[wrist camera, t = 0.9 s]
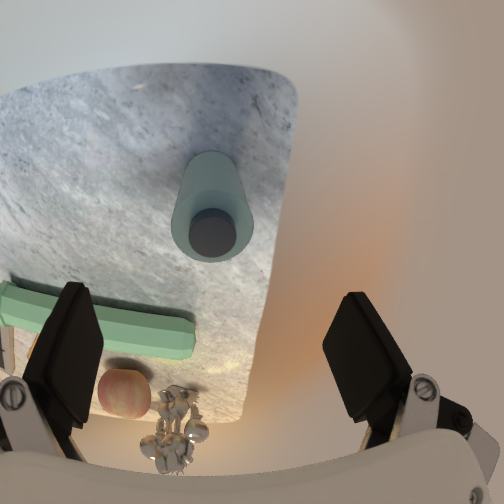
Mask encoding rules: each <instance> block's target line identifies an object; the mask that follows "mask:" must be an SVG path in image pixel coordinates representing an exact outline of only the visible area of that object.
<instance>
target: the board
mask: <svg viewBox="0 0 504 504" xmlns="http://www.w3.org/2000/svg"><path fill="white" fill-rule="evenodd" d="M38 337H39V334H38V335H37V337H36V339H35V341H34V343H33V345H32V347H31V350H30V352H29V354H28V356H27V358H28V359H29V358H30V356H31V353H32V351H33V348H34V346H35V344H36V341H37V339H38Z"/></svg>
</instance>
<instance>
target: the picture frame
mask: <svg viewBox="0 0 504 504" xmlns="http://www.w3.org/2000/svg"><path fill="white" fill-rule="evenodd" d="M0 370H2V371H3V372H5V373H7V374H8V375H10V376H13V373H14V370H15V362H14V337H13V326H8V327H4V326H1V325H0Z"/></svg>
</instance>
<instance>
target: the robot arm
mask: <svg viewBox="0 0 504 504" xmlns="http://www.w3.org/2000/svg"><path fill="white" fill-rule="evenodd" d="M322 345H323V351H324V353H325V356H326V358H327V361H328V363H329V366H330V368H331V371H332V373H333V376H334V378H335V381H336V384H337V386H338V389H339V391H340V394H341V397H342V399H343V401H344V405H345V407H346V410H347V412H348V415H349V416H350V417H351V418H353V420H354V423H358V422H362V421H365V420H367V421H368V424H369V425H368V428H367V431H366V434H365V437H364V439H363V441H362V444H361V447H360V449H359V451H358V452H357V453H354V454H351V455H348V456H344V457H340V458H337V459H333V460H329V461H325V462H321V463H317V464H312V465H307V466H302V467H297V468H292V469H286V470H279V471H272V472H265V473H255V474H246V475H231V476H175V475H174V476H173V475H159V474H150V473H140V472H133V471H126V470H120V469H114V468H109V467H103V466H98V465H93V464H89V463H87V462H86V460H85V458H84V457H83V455H82V454H81V452H80V450H79V449H78V447H77V445H76V444H75V442H74V440H73V439H72V437H71V431H72V427H75V428H79V429H82V428H83V423H86V422H87V420H88V416H89V410H90V404H91V399H92V394H93V389H94V384H95V380H96V375H97V371H98V367H99V363H100V359H101V355H102V351H103V347H104V338H103V335H102V332H101V329H100V326H99V323H98V319H97V316H96V313H95V310H94V306H93V303H92V299H91V296H90V292H89V289H88V288H87V287H85V286H84V284H83V283H80V282H70V281H69V282H67V284H66V285H65V287H64V289H63V291H62V293H61V294H60V296H59V298H58V300H57V302H56V304H55V306H54V308H53V310H52V312H51V314H50V316H49V317H48V318H47V320H46V321H45V323H44V326H43V328H42V330H41V332H40V334H39V337H38V339H37V341H36V344H35V346H34V348H33V351H32V353H31V356H30V358H29V361H28V363H27V366H26V369H25V371H24V374H23V377H22V378H20V377H17V376H10V377H7V378H5V379H4V380H2V382H1V383H0V504H492V501H491V497H490V494H489V491H488V487H487V485H488V483H489V481H490V478H491V476H492V473H493V471H494V468H495V466H496V463H497V460H498V457H499V453H500V447H499V444H498V442H497V441H496V440H495V439H494V438H493V437H491V436H490V435H489V434H488V433H487V432H486V431H485V430H484V429H482V428H481V427H480V426H479V425H478V424H477V423H476V422H474V423H473V419H472V415H471V413H470V412H469V410H468V409H467V408H465V407H464V406H461V405H459V404H457V403H455V402H453V401H451V400H449V399H447V398H444V397H443V396H440V389H439V386H438V384H437V383H436V381H435V380H434V379H433V378H432V377H430V376H429V375H426V374H417V375H415V376H414V377H413V378H412V376H411V374H412V373H413V371H412V369H411V367H410V366H409V364H408V362H407V360H406V359H405V357H404V355H403V354H402V352H401V350H400V348H399V347H398V345H397V343H396V342H395V340H394V338H393V337H392V335H391V333H390V332H389V330H388V329H387V327H386V325H385V324H384V322H383V321H382V319H381V317H380V316H379V314H378V313H377V311H376V310H375V308H374V307H373V305H372V303H371V302H370V300H369V299H368V297H367V296H366V294H365V293H364V292H349V293H348V294H347V296H344V298H343V300H342V302H341V304H340V307H339V309H338V311H337V313H336V315H335V318H334V320H333V322H332V324H331V326H330V328H329V330H328V332H327V334H326V336H325V338H324V340H323V344H322Z"/></svg>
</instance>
